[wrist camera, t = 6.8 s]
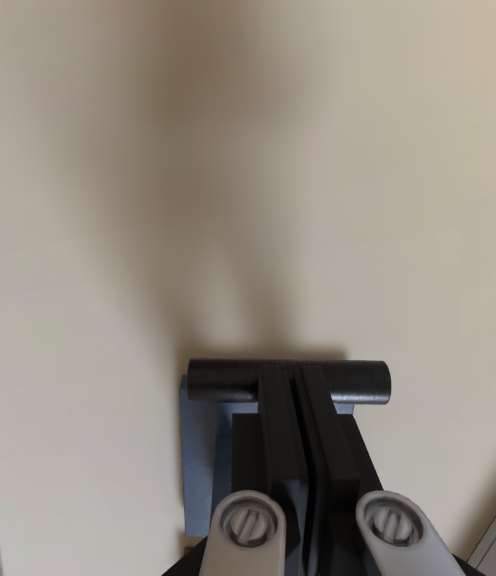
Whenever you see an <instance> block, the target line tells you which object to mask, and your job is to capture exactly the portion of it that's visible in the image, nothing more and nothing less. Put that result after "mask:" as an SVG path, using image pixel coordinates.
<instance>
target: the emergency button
mask: <svg viewBox="0 0 496 576" xmlns="http://www.w3.org/2000/svg"><path fill="white" fill-rule="evenodd" d="M467 563H468V564H469V565H471V566H472V567H474V568H475V569H477V570H478V571H480V572H481V573H483V574H484V575H486V576H496V518H495V519H494V521H493V522H492V524H491V526H490V527H489V529H488V530H487V532H486V533H485V535H484V537H483V538H482V540H481V541H480V543H479V544H478V546H477V548H476V549H475V551H474V552H473V554H472V555H471V557H470V559H469V560H468V562H467Z"/></svg>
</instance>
